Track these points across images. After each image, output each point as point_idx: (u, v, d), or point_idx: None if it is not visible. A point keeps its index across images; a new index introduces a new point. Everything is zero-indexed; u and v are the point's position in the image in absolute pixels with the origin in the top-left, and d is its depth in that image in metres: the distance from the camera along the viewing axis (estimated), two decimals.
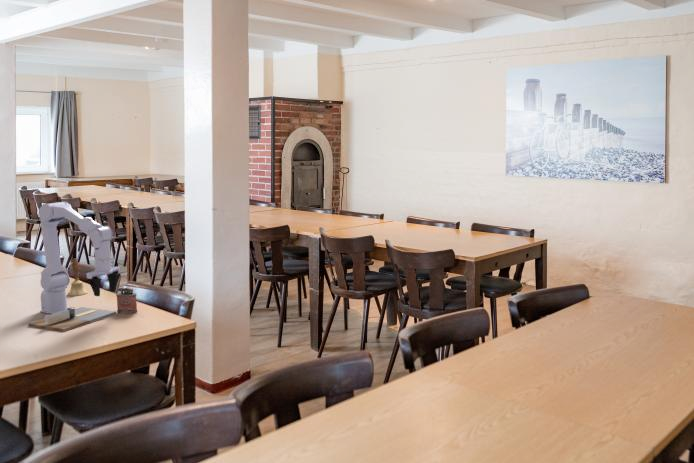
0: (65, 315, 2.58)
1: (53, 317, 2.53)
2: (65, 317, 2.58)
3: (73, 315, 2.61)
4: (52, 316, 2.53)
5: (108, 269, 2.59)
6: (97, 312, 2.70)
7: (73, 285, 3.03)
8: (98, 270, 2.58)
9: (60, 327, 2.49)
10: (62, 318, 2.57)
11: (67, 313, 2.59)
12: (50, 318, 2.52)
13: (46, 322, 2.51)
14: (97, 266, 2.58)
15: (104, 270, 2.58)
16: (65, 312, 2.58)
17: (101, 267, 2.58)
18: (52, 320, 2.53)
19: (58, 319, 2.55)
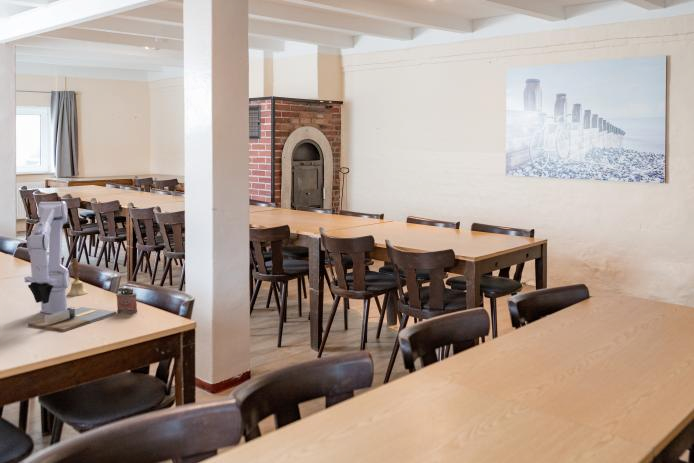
0: (65, 315, 2.58)
1: (53, 317, 2.53)
2: (65, 317, 2.58)
3: (73, 315, 2.61)
4: (52, 316, 2.53)
5: (33, 278, 2.52)
6: (97, 312, 2.70)
7: (73, 285, 3.03)
8: None
9: (60, 327, 2.49)
10: (62, 318, 2.57)
11: (67, 313, 2.59)
12: (50, 318, 2.52)
13: (46, 322, 2.51)
14: None
15: (32, 278, 2.53)
16: (65, 312, 2.58)
17: None
18: (52, 320, 2.53)
19: (58, 319, 2.55)
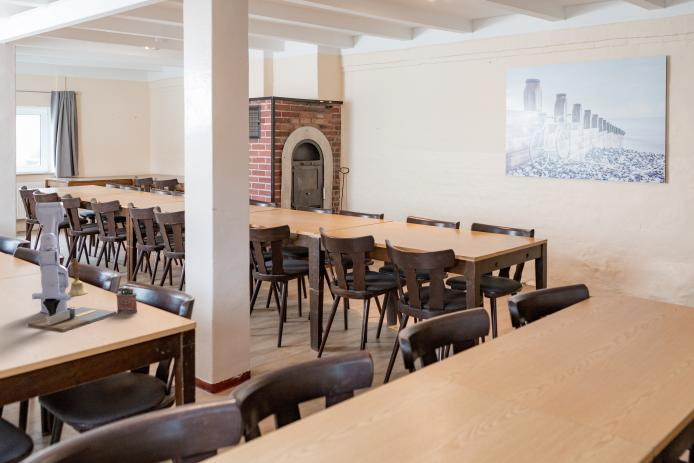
0: (66, 315, 2.58)
1: (55, 317, 2.53)
2: (66, 317, 2.58)
3: (73, 315, 2.61)
4: (54, 316, 2.52)
5: (46, 294, 2.51)
6: (97, 312, 2.70)
7: (73, 285, 3.03)
8: None
9: (60, 327, 2.49)
10: (63, 318, 2.57)
11: (67, 313, 2.59)
12: (52, 318, 2.52)
13: (48, 322, 2.51)
14: None
15: (43, 294, 2.52)
16: (66, 312, 2.58)
17: None
18: (54, 320, 2.52)
19: (59, 319, 2.55)
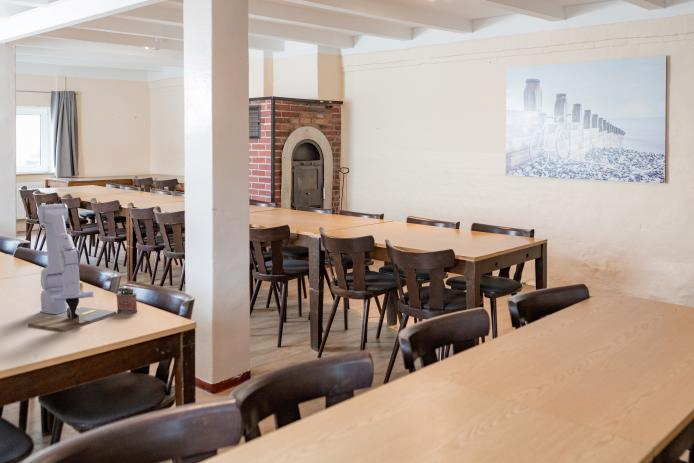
0: None
1: None
2: None
3: None
4: None
5: (72, 294, 2.51)
6: (97, 312, 2.70)
7: None
8: (64, 294, 2.52)
9: (60, 327, 2.49)
10: None
11: None
12: None
13: (81, 321, 2.53)
14: (63, 290, 2.52)
15: (68, 294, 2.51)
16: None
17: (65, 291, 2.51)
18: None
19: None
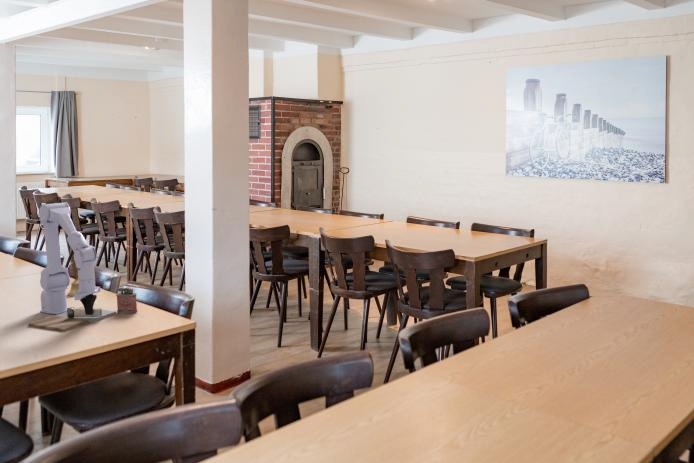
0: None
1: None
2: None
3: None
4: None
5: (94, 289, 2.58)
6: None
7: (73, 285, 3.03)
8: (84, 291, 2.56)
9: (60, 327, 2.49)
10: None
11: None
12: None
13: (100, 314, 2.61)
14: (83, 287, 2.56)
15: (90, 290, 2.56)
16: None
17: (87, 287, 2.56)
18: None
19: None
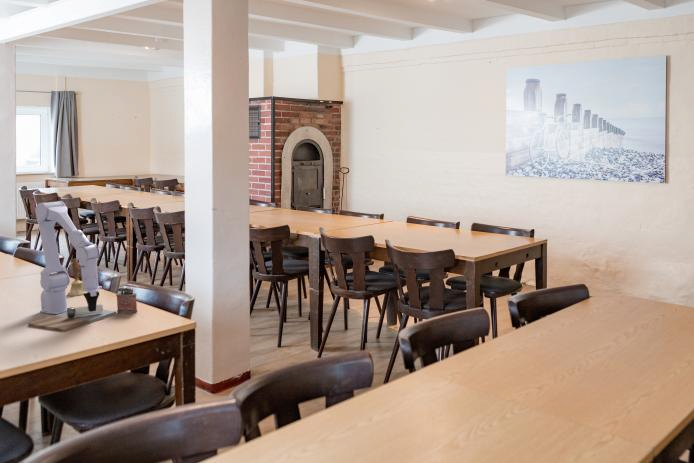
0: None
1: None
2: None
3: None
4: None
5: (98, 285, 2.64)
6: None
7: (73, 285, 3.03)
8: (92, 287, 2.61)
9: (60, 327, 2.49)
10: None
11: None
12: None
13: None
14: (91, 284, 2.61)
15: (97, 286, 2.63)
16: None
17: (95, 284, 2.62)
18: None
19: None
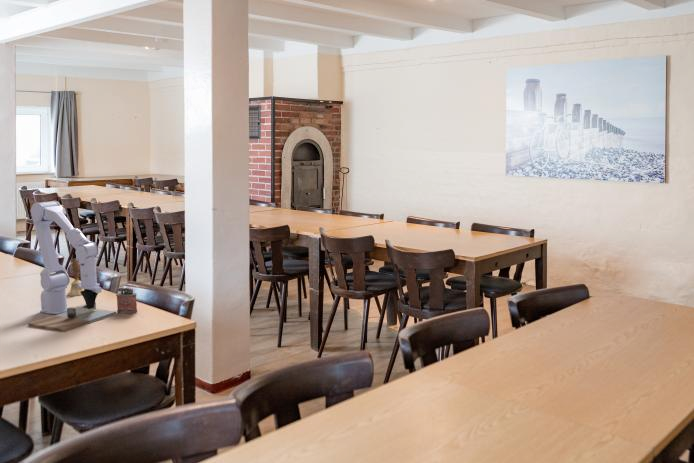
0: None
1: None
2: None
3: None
4: None
5: None
6: (97, 312, 2.70)
7: (73, 285, 3.03)
8: (93, 285, 2.65)
9: (60, 327, 2.49)
10: None
11: None
12: None
13: None
14: (92, 281, 2.64)
15: (96, 283, 2.67)
16: None
17: (95, 281, 2.66)
18: None
19: None
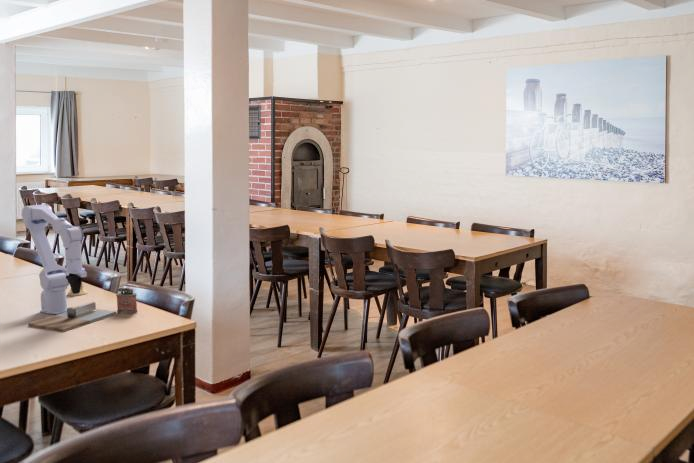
0: None
1: None
2: None
3: None
4: None
5: None
6: (97, 312, 2.70)
7: None
8: (79, 269, 2.63)
9: (60, 327, 2.49)
10: None
11: None
12: None
13: None
14: (78, 265, 2.63)
15: (82, 268, 2.65)
16: None
17: (81, 265, 2.64)
18: None
19: None
